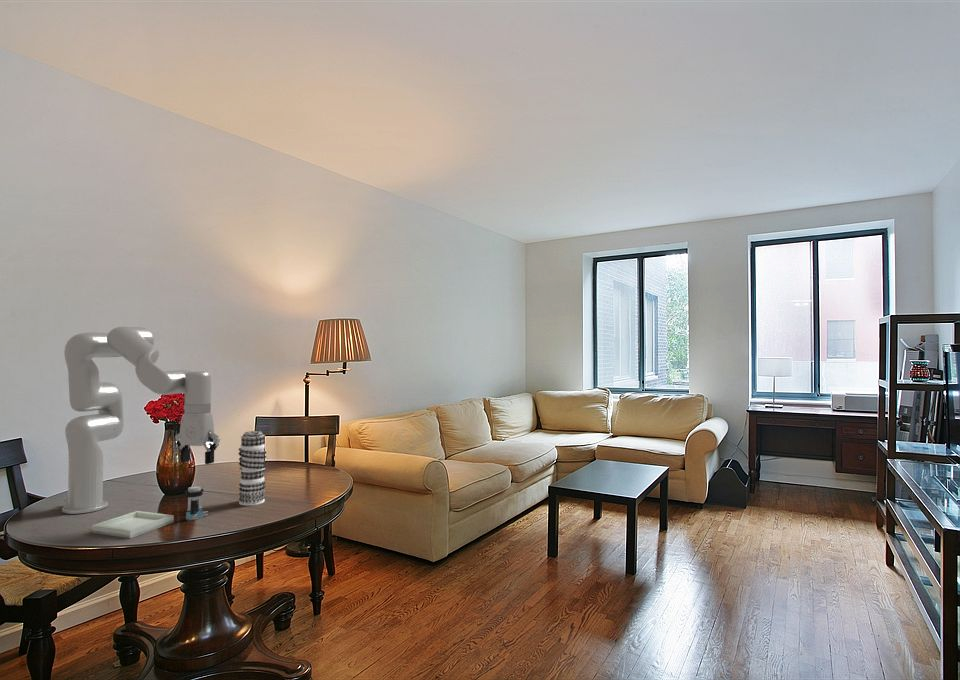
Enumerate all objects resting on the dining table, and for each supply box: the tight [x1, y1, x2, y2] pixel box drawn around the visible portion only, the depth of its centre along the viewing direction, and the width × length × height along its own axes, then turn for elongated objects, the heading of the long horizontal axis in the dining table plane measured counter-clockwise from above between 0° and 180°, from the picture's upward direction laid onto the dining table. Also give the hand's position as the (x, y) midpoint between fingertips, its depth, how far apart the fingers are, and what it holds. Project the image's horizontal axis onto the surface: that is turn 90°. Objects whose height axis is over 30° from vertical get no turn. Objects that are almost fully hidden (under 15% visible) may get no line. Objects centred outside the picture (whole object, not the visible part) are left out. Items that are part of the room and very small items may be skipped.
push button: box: [184, 485, 209, 522], centre depth 175 cm, size 7×5×10 cm
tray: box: [91, 510, 175, 539], centre depth 166 cm, size 15×15×2 cm
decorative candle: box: [238, 430, 267, 507], centre depth 193 cm, size 9×9×25 cm
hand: (197, 462), depth 175 cm, fingers open, 9 cm apart
